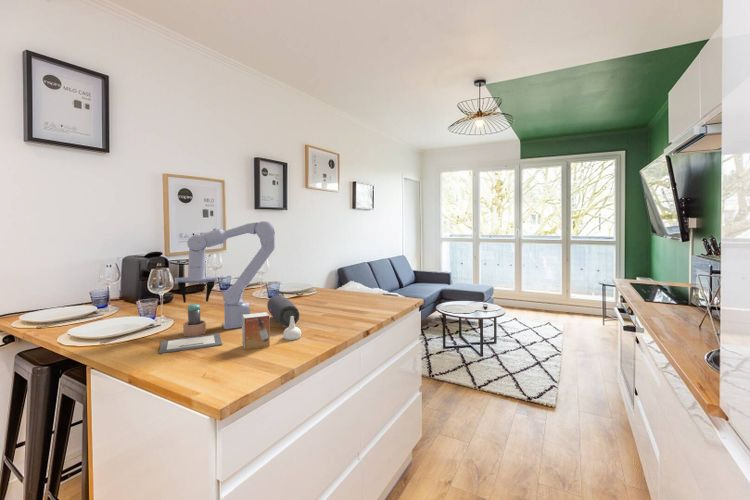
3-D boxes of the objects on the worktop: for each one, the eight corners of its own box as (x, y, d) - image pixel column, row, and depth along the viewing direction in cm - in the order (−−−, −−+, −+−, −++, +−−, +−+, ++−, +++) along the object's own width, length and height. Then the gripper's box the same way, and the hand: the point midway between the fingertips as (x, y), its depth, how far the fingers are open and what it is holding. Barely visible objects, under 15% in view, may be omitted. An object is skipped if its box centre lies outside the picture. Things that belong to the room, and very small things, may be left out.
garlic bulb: (283, 337, 126) (281, 315, 125) (301, 334, 127) (298, 313, 127) (283, 342, 120) (281, 320, 119) (302, 339, 121) (299, 317, 120)
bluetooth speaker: (265, 317, 151) (265, 294, 150) (287, 315, 155) (287, 292, 154) (276, 331, 130) (276, 305, 130) (301, 328, 135) (300, 303, 134)
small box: (244, 350, 111) (243, 318, 110) (242, 345, 116) (241, 314, 115) (270, 346, 114) (269, 315, 114) (267, 341, 119) (266, 311, 118)
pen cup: (205, 329, 133) (205, 319, 132) (206, 334, 126) (205, 324, 126) (183, 332, 129) (183, 321, 129) (183, 337, 123) (182, 326, 123)
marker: (200, 330, 130) (199, 303, 130) (201, 332, 127) (200, 305, 126) (188, 331, 129) (187, 304, 128) (188, 334, 125) (187, 307, 124)
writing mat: (219, 334, 127) (219, 332, 127) (221, 345, 116) (221, 343, 116) (162, 341, 119) (161, 340, 119) (158, 354, 107) (158, 352, 107)
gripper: (216, 265, 140) (215, 298, 141) (175, 265, 133) (174, 300, 134) (218, 267, 134) (217, 302, 135) (175, 267, 127) (174, 304, 128)
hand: (195, 301), depth 134 cm, fingers open, 7 cm apart
